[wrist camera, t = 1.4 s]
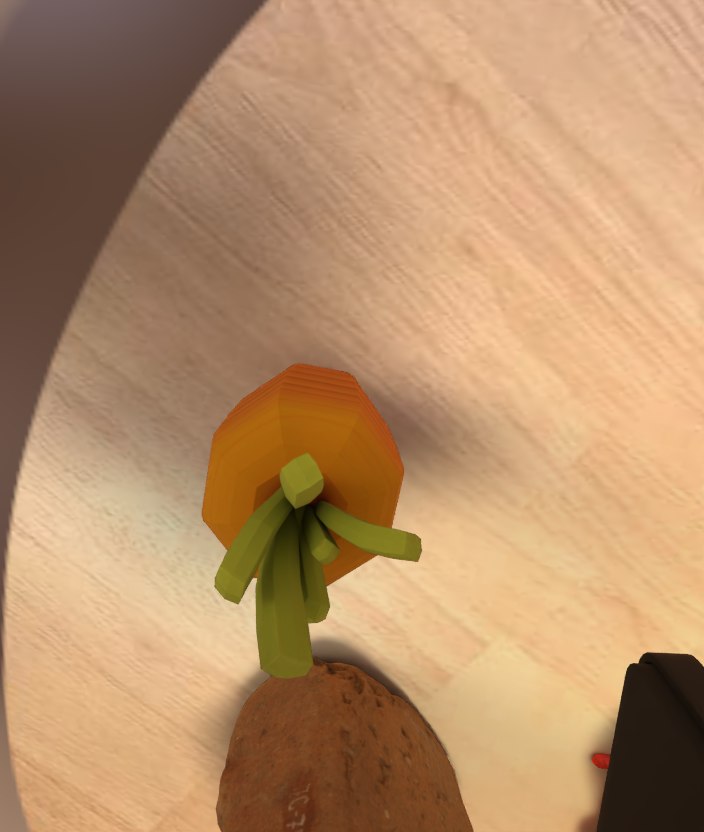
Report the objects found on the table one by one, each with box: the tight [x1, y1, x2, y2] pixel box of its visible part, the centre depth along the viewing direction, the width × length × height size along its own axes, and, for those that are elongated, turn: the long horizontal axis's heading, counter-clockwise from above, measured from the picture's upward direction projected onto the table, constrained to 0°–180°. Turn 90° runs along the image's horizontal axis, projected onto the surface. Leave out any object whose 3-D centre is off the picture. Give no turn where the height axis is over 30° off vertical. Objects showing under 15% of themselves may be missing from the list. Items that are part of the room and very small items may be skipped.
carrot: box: [202, 363, 422, 679], centre depth 18 cm, size 5×5×15 cm
